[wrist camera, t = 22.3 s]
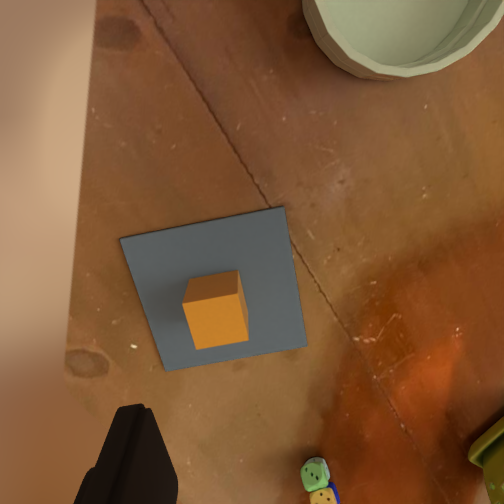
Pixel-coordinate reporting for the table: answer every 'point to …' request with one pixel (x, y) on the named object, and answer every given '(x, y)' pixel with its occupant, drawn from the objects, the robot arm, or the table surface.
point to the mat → (214, 262)
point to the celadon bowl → (399, 33)
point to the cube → (216, 310)
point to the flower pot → (491, 460)
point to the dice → (319, 482)
